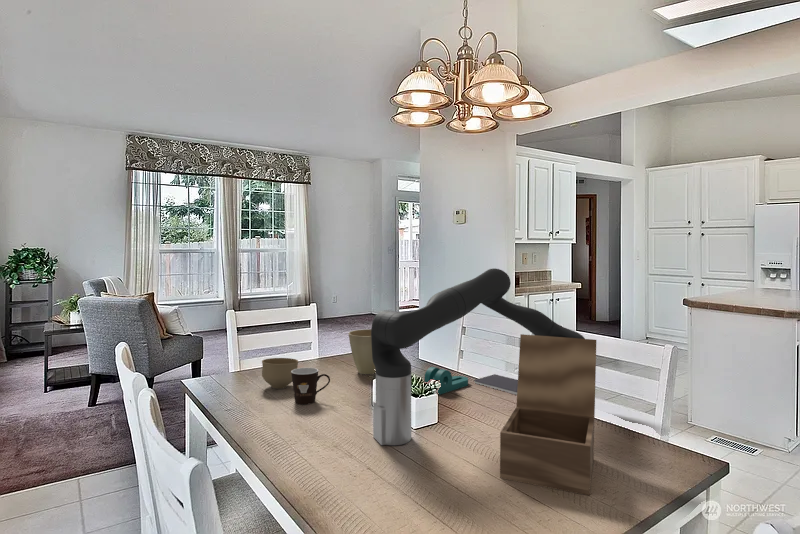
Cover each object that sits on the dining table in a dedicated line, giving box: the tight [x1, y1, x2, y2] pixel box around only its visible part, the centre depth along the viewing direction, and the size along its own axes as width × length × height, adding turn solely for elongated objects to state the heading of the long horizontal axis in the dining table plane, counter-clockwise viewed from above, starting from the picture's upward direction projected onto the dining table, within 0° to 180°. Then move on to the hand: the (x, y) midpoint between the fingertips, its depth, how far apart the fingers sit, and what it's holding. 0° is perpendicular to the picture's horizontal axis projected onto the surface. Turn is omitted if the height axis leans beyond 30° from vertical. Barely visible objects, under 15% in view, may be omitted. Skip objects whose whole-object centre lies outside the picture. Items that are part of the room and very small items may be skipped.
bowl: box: [261, 357, 299, 390], centre depth 171 cm, size 13×13×10 cm
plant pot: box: [347, 328, 376, 375], centre depth 190 cm, size 15×15×16 cm
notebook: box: [473, 373, 518, 396], centre depth 172 cm, size 13×2×21 cm
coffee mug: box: [291, 367, 331, 406], centre depth 154 cm, size 12×9×10 cm
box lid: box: [515, 333, 597, 418], centre depth 118 cm, size 18×18×1 cm
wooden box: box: [499, 407, 595, 496], centre depth 108 cm, size 18×18×10 cm
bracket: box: [423, 366, 469, 396], centre depth 170 cm, size 18×7×8 cm, turn 134°
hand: (557, 373), depth 121 cm, fingers closed
